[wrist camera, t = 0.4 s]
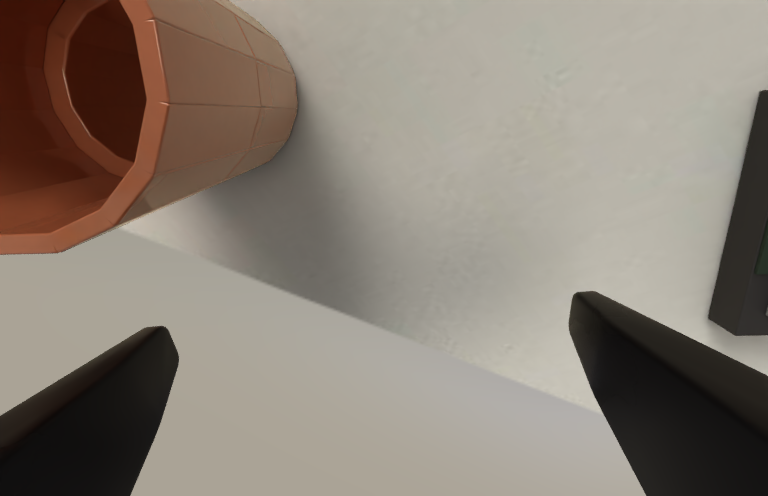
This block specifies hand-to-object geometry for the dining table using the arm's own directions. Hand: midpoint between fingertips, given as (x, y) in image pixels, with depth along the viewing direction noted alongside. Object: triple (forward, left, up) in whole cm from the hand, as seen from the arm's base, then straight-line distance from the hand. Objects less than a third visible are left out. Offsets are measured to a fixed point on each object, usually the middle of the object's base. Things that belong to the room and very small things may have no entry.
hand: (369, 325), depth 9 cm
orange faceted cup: (+5, +7, -13) cm, 16 cm away
